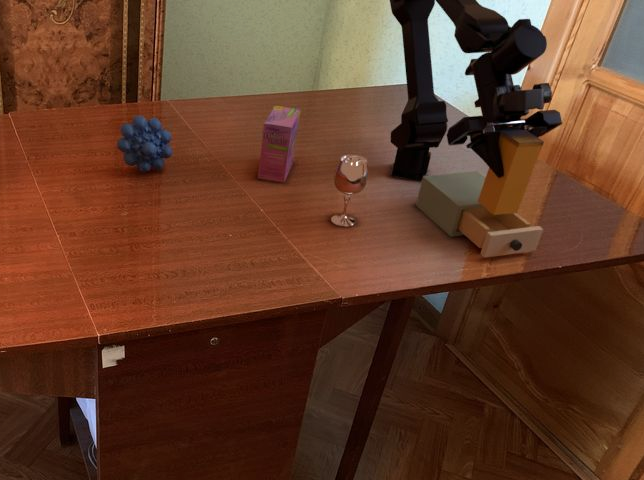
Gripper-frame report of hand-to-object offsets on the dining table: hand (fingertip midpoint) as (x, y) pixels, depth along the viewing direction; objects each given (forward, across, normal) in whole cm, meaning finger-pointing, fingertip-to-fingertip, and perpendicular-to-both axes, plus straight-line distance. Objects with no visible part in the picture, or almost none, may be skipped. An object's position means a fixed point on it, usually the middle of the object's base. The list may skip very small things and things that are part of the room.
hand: (514, 175), depth 127 cm
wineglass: (0, -23, +20) cm, 30 cm away
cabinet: (+2, 0, +17) cm, 17 cm away
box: (-17, -27, +36) cm, 48 cm away
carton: (+4, 0, +6) cm, 7 cm away
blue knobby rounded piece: (-20, -54, +39) cm, 69 cm away
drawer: (+9, 0, +9) cm, 12 cm away
